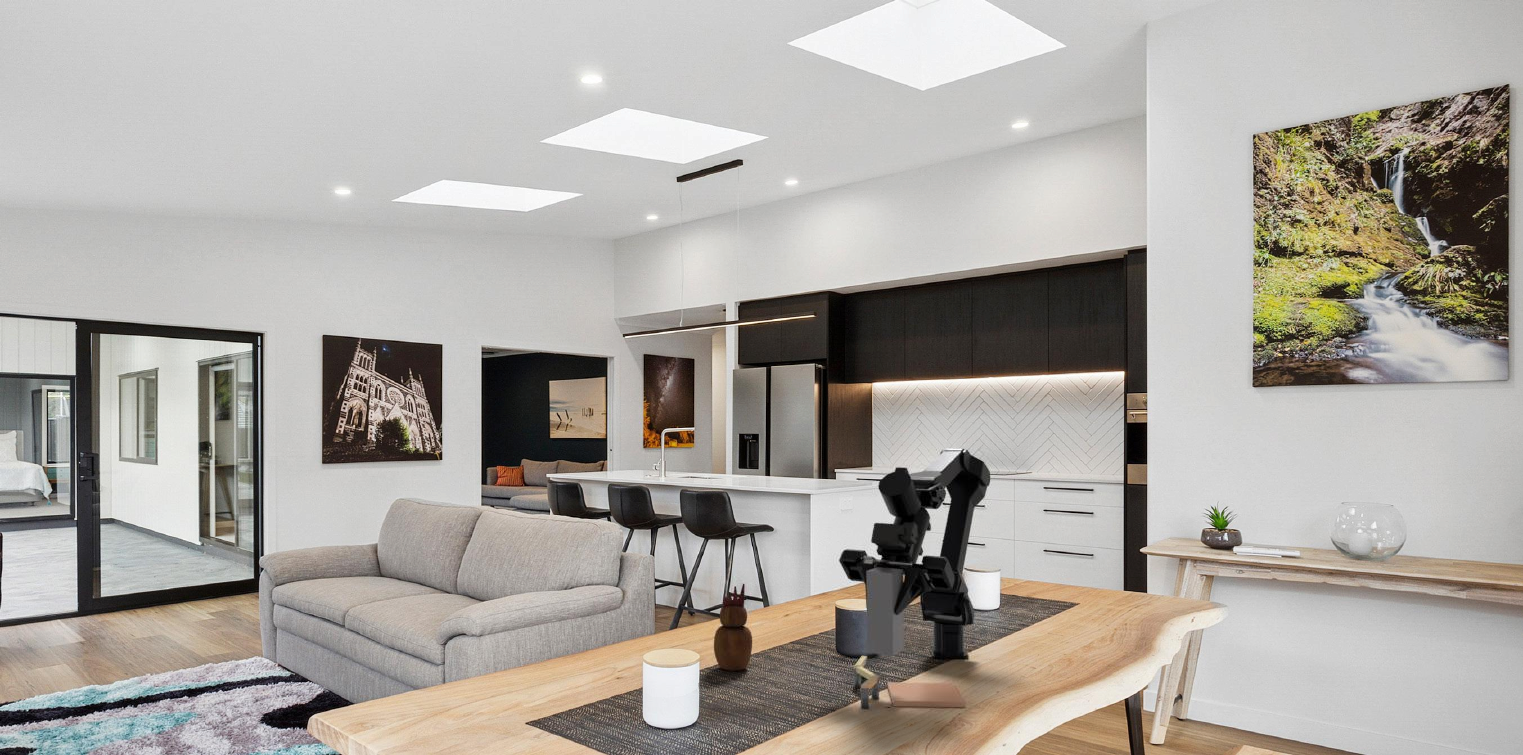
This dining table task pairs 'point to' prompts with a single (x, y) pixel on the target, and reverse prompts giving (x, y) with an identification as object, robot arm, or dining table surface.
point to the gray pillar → (884, 611)
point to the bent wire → (871, 683)
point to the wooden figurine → (733, 634)
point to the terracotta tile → (925, 694)
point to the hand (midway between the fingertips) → (881, 611)
